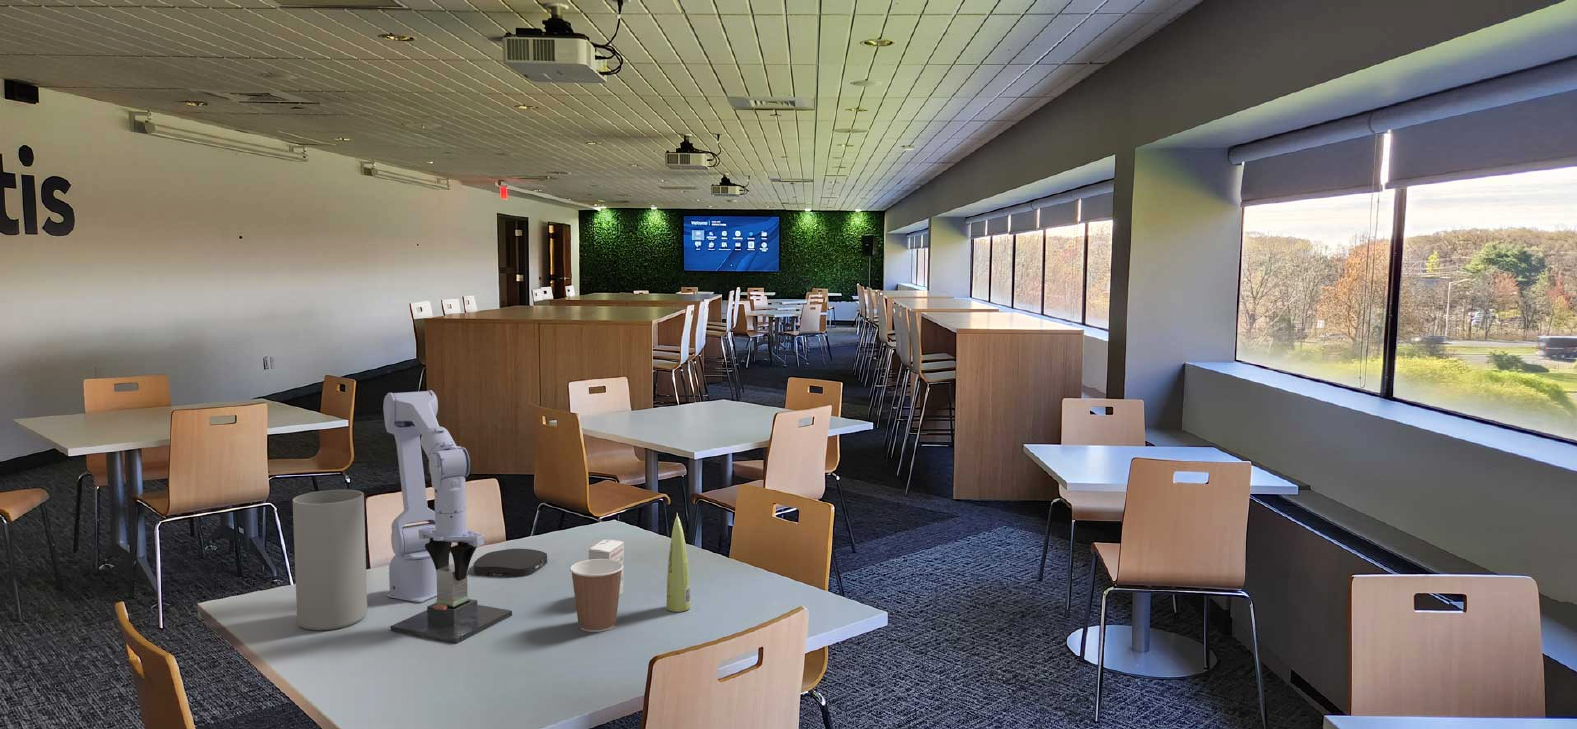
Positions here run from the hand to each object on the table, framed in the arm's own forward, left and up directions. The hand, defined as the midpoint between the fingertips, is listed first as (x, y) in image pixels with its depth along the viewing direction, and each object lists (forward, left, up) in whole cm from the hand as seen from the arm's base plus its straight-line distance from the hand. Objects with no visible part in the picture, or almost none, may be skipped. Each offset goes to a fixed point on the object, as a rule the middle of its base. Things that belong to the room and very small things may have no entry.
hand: (451, 577), depth 178 cm
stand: (0, 0, -9) cm, 9 cm away
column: (0, 0, -5) cm, 5 cm away
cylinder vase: (-23, -8, -9) cm, 26 cm away
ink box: (+20, +24, -9) cm, 33 cm away
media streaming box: (-13, +34, -10) cm, 38 cm away
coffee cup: (+27, +10, -9) cm, 30 cm away
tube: (+37, +25, -9) cm, 46 cm away
